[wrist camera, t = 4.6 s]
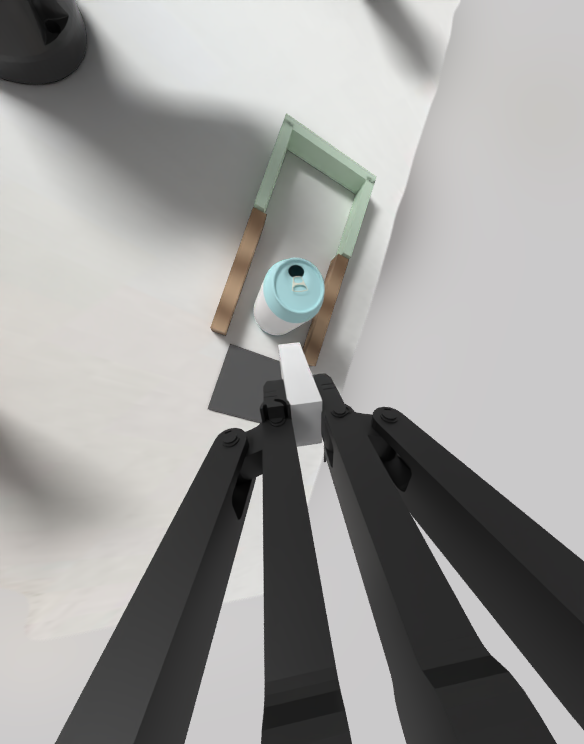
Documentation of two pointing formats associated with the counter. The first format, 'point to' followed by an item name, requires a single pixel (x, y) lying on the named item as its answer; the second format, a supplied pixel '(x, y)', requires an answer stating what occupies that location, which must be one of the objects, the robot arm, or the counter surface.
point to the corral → (328, 163)
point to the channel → (239, 276)
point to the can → (289, 296)
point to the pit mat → (243, 383)
